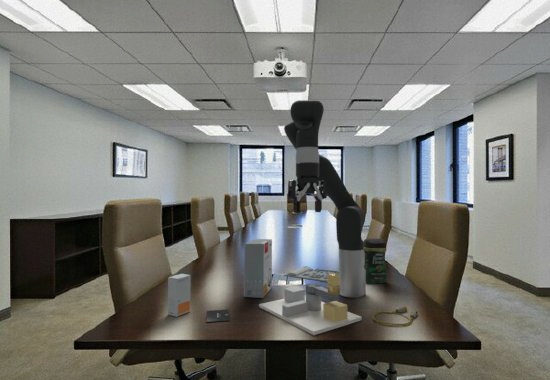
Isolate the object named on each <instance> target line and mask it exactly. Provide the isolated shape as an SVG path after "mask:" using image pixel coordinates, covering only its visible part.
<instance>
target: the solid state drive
mask: <svg viewBox="0 0 550 380" xmlns="http://www.w3.org/2000/svg"><path fill="white" fill-rule="evenodd" d="M230 321H231V317H230V311H229V309H226V308H225V309H213V310H207V311H206V322H205V323H207V324H211V323H222V322H223V323H225V322H230Z"/></svg>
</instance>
